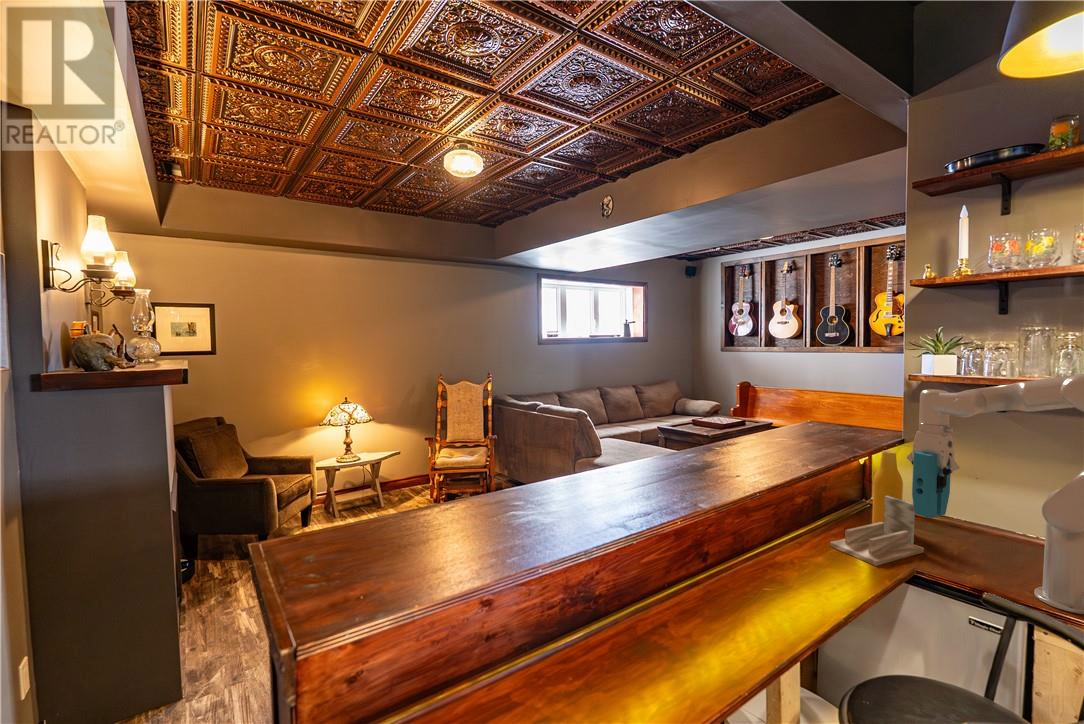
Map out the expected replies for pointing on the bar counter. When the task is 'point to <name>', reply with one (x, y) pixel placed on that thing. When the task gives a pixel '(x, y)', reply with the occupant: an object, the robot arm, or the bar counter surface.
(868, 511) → the bar counter surface
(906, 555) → the book stand
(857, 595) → the bar counter surface
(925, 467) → the block
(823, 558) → the bar counter surface
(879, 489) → the beer bottle
